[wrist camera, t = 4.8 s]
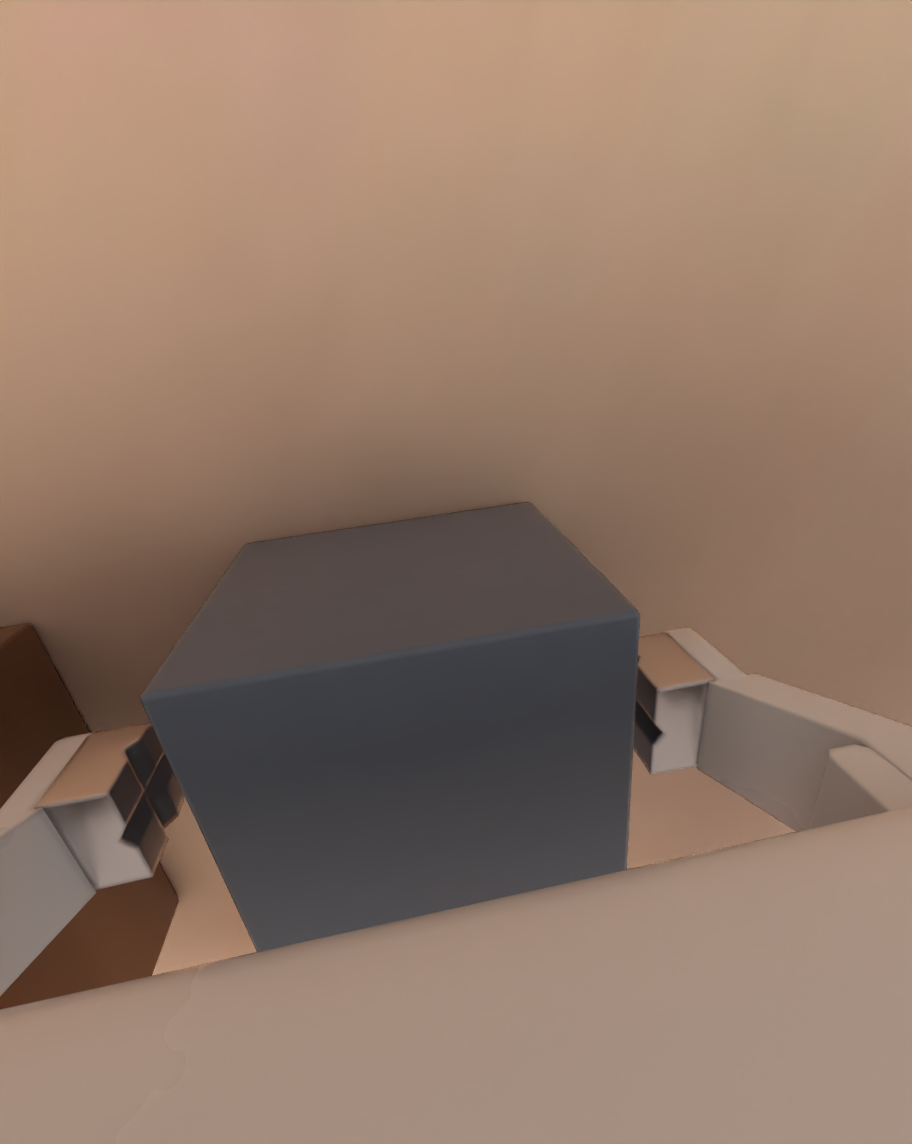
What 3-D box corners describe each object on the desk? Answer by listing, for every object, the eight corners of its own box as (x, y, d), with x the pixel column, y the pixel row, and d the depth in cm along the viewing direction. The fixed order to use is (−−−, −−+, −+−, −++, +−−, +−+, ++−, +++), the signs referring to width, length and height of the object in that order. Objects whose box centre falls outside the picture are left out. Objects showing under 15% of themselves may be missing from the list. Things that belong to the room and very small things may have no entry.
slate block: (531, 500, 11) (643, 611, 6) (541, 720, 13) (626, 914, 9) (243, 542, 10) (135, 697, 6) (311, 762, 13) (272, 993, 8)
